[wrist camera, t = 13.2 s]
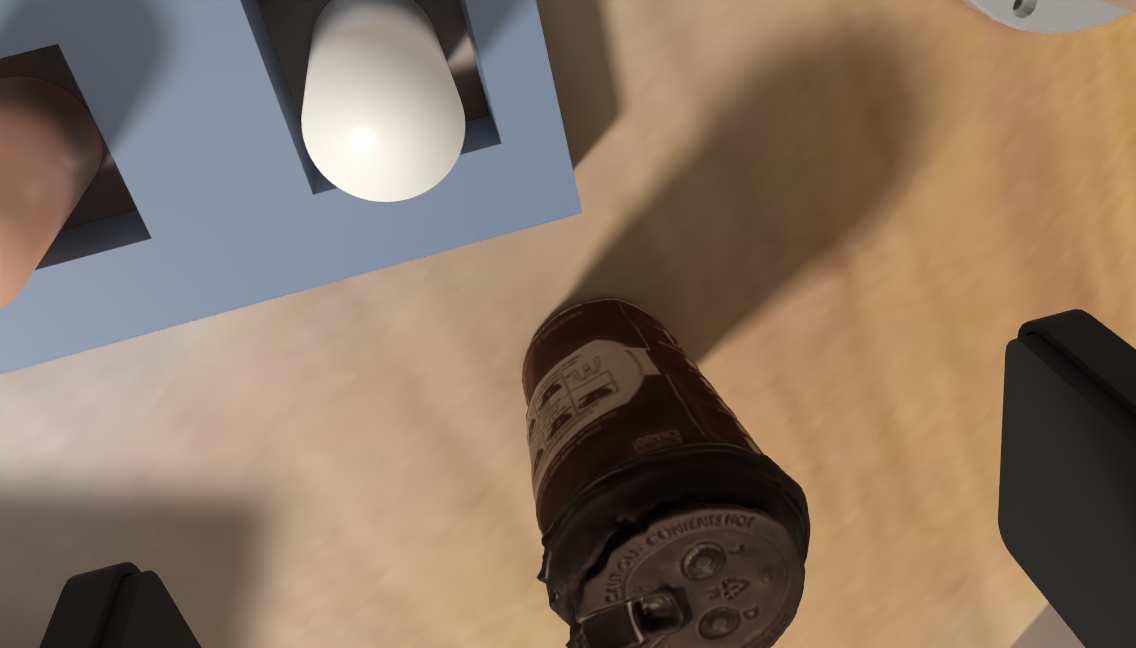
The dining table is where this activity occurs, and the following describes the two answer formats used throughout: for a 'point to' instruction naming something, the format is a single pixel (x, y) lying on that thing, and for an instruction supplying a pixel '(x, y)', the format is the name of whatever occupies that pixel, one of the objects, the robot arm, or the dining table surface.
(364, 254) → the slot rack
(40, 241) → the terracotta plug
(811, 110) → the dining table surface
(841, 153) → the dining table surface
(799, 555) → the coffee cup
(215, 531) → the dining table surface
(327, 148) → the cream plug
